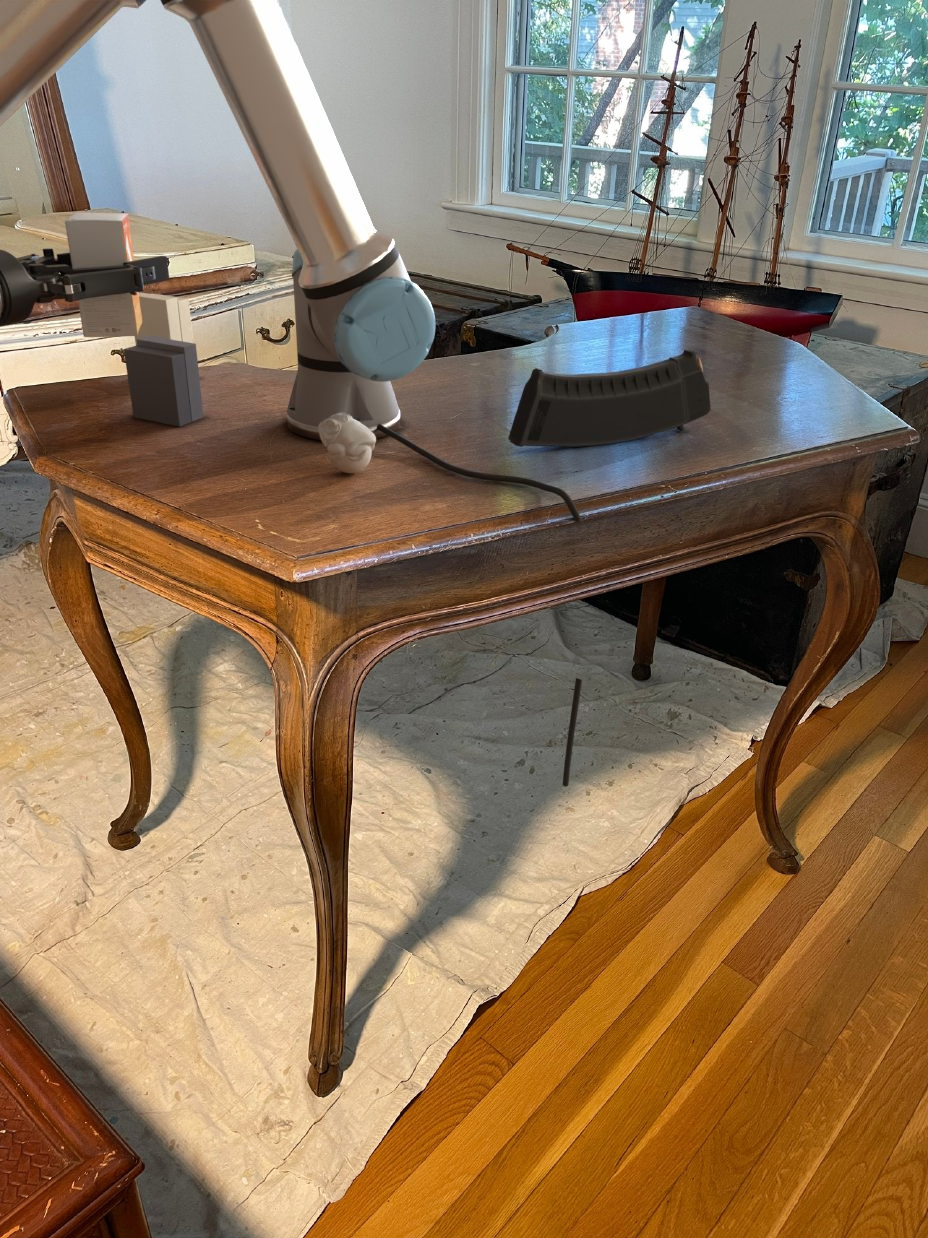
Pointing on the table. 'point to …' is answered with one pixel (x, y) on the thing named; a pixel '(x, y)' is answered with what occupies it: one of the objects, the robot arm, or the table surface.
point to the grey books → (164, 381)
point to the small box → (101, 246)
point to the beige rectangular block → (165, 317)
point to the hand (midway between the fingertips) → (132, 263)
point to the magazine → (610, 404)
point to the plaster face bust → (347, 442)
